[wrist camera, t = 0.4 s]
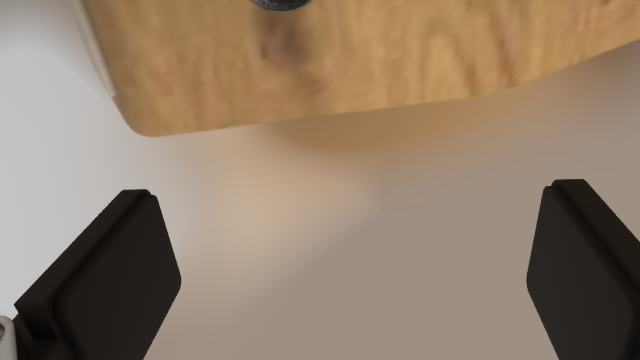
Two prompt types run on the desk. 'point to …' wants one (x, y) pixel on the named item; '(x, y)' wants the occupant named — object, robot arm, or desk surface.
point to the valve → (281, 5)
